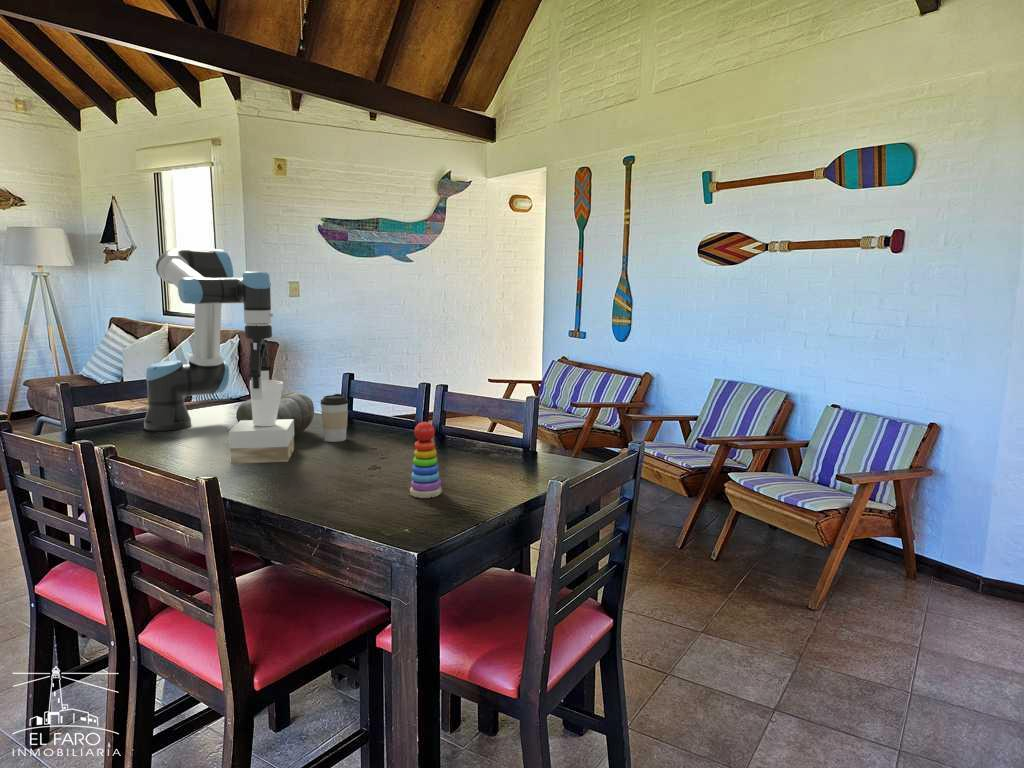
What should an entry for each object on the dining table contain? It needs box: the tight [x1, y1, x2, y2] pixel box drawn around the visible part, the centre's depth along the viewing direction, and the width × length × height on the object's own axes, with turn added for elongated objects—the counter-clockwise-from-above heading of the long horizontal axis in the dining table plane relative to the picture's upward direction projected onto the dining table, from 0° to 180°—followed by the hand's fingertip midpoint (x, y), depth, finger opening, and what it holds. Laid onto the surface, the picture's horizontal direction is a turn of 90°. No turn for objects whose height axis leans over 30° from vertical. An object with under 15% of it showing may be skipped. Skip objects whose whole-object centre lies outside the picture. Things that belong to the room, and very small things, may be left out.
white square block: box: [228, 419, 295, 450], centre depth 208 cm, size 16×16×5 cm
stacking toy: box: [409, 421, 443, 499], centre depth 172 cm, size 8×8×19 cm
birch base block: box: [229, 436, 295, 465], centre depth 209 cm, size 16×16×5 cm
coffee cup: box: [319, 393, 349, 443], centre depth 230 cm, size 9×9×15 cm
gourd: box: [235, 391, 315, 437], centre depth 234 cm, size 25×25×17 cm
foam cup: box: [249, 379, 284, 426], centre depth 207 cm, size 10×9×13 cm
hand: (261, 395), depth 206 cm, fingers open, 13 cm apart
